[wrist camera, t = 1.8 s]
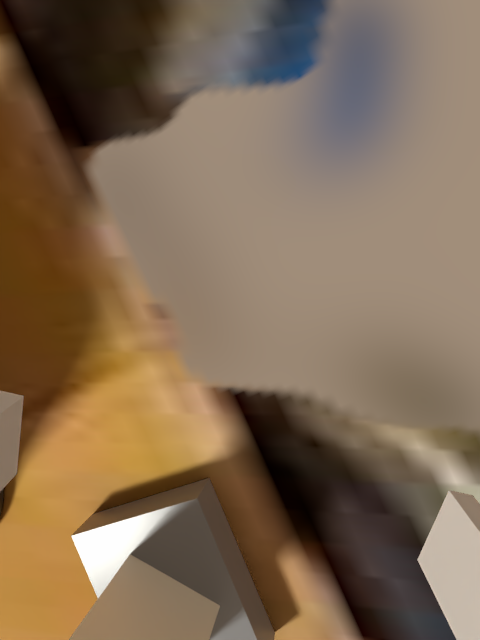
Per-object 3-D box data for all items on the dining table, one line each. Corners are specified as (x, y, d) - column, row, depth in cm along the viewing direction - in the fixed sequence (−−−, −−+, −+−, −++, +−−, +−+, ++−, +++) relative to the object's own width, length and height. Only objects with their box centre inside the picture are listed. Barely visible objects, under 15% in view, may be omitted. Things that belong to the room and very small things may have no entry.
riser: (153, 655, 34) (137, 690, 31) (93, 513, 34) (71, 535, 31) (274, 632, 31) (269, 669, 28) (209, 477, 31) (197, 498, 28)
